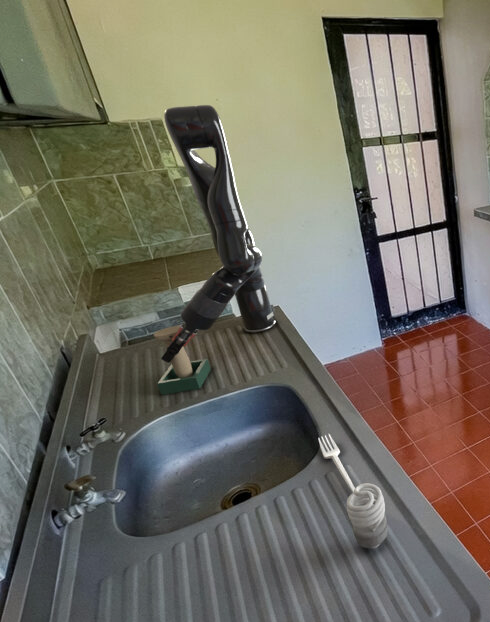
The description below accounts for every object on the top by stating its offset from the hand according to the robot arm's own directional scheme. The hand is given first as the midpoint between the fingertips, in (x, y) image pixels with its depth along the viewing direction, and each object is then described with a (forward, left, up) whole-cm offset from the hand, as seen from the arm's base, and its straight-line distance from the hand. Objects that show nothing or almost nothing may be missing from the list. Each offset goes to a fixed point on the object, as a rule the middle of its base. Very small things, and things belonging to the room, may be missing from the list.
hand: (168, 355), depth 119 cm
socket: (0, +2, -8) cm, 9 cm away
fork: (+46, +44, -9) cm, 64 cm away
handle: (0, +2, -8) cm, 8 cm away
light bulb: (+66, +50, -9) cm, 83 cm away
